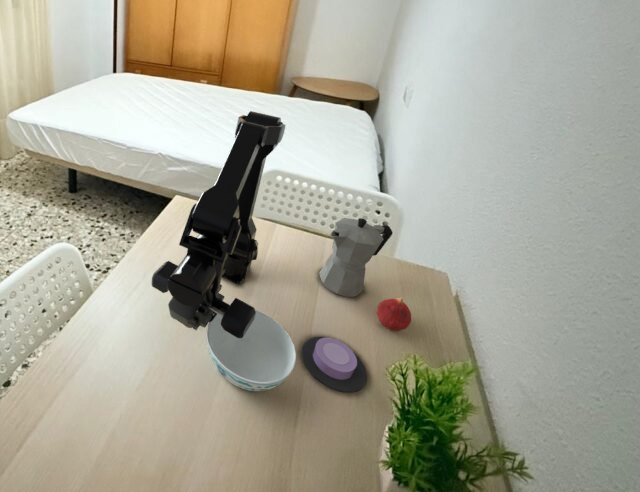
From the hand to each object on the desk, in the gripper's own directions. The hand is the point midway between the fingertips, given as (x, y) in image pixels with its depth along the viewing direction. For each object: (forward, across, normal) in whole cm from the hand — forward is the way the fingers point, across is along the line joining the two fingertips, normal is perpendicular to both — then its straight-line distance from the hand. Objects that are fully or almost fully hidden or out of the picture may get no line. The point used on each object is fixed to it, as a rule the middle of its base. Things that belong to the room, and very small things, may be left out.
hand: (195, 328), depth 77 cm
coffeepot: (+3, +20, +36) cm, 41 cm away
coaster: (+3, +23, +12) cm, 26 cm away
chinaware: (+3, +10, 0) cm, 11 cm away
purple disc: (+3, +23, +12) cm, 26 cm away
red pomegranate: (+3, +30, +28) cm, 41 cm away
